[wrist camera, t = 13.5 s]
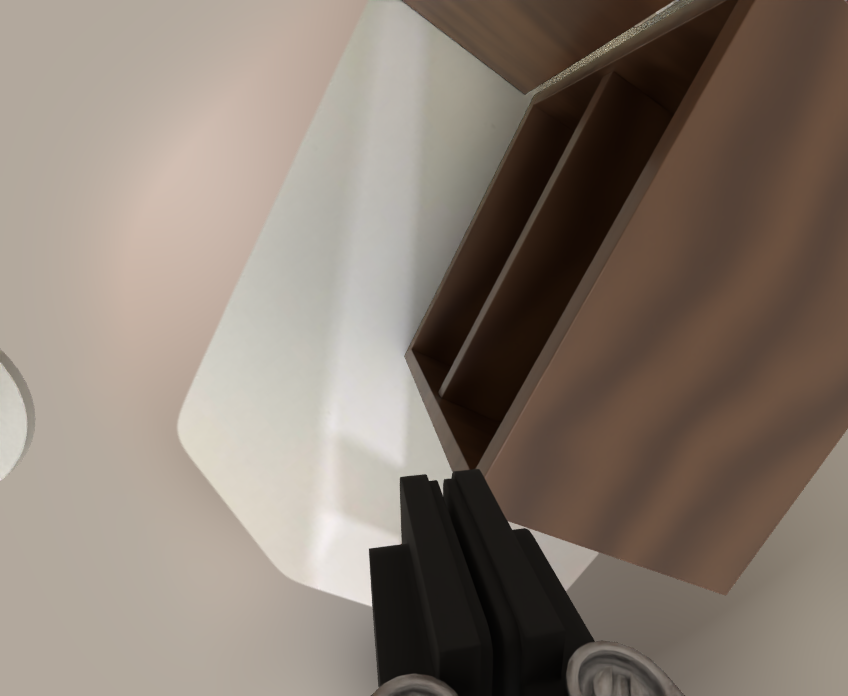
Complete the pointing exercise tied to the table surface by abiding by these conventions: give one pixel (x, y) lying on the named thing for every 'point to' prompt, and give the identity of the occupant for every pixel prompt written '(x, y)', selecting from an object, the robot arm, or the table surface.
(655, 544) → the cupboard
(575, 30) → the cupboard door
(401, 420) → the table surface
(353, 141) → the table surface
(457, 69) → the table surface
